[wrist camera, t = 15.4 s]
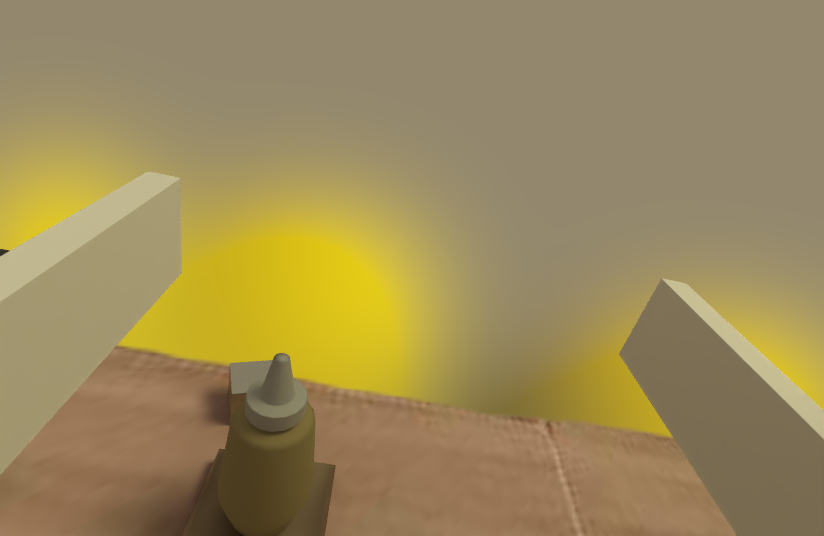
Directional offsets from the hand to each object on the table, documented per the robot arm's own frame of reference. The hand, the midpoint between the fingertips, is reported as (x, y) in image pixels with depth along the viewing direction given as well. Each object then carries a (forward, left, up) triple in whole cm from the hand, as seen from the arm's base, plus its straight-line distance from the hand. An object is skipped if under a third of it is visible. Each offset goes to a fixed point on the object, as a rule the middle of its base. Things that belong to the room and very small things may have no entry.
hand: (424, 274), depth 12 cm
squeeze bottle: (+6, -16, -36) cm, 39 cm away
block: (+11, -30, -38) cm, 50 cm away
